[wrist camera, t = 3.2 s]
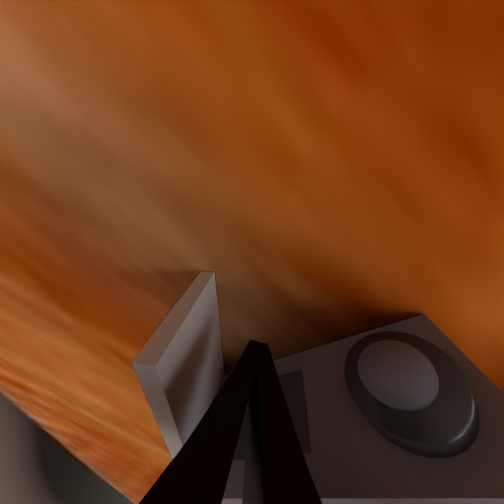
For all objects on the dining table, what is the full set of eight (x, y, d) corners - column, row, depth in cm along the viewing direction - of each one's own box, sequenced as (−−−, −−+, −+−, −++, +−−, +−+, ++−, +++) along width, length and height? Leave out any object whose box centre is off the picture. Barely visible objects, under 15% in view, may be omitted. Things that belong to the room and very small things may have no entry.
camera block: (415, 293, 9) (655, 519, 3) (465, 406, 12) (642, 634, 6) (212, 364, 14) (162, 506, 8) (282, 432, 17) (283, 575, 11)
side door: (198, 270, 11) (127, 361, 6) (215, 272, 10) (156, 366, 5) (213, 373, 15) (178, 479, 10) (225, 375, 14) (196, 483, 10)
